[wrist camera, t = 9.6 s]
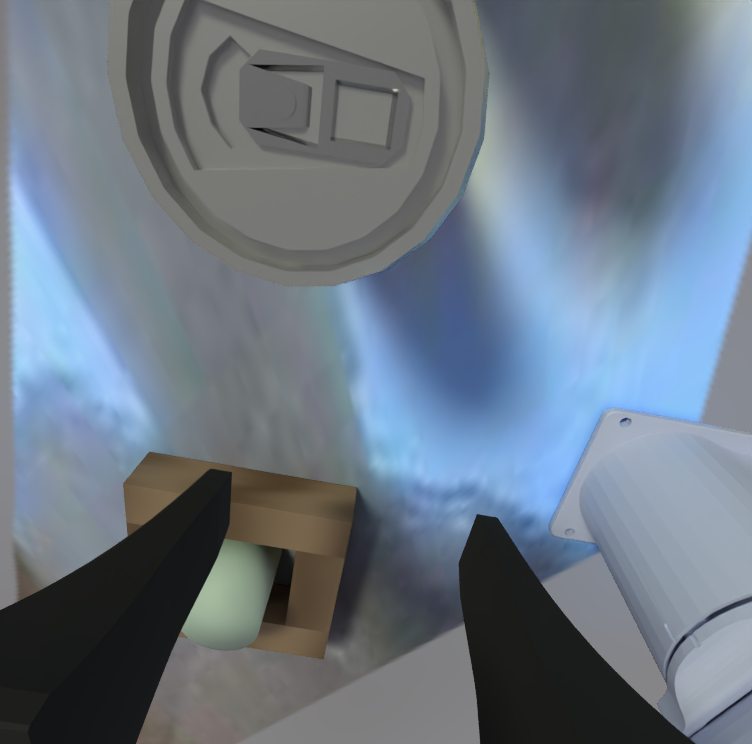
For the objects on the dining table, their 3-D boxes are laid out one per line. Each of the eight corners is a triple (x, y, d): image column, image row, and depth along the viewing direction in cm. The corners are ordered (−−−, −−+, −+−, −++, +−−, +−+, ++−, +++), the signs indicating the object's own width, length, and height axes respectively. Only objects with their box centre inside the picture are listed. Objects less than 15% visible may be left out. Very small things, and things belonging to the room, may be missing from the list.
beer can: (449, 58, 16) (563, -144, 5) (420, 220, 18) (452, 326, 7) (294, 31, 15) (53, -237, 5) (285, 198, 18) (113, 274, 7)
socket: (356, 487, 24) (352, 522, 22) (329, 619, 29) (323, 659, 27) (149, 451, 24) (123, 483, 21) (156, 592, 28) (136, 629, 26)
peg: (285, 524, 26) (261, 604, 21) (279, 572, 27) (256, 656, 23) (214, 512, 25) (175, 590, 21) (213, 561, 27) (176, 643, 23)
